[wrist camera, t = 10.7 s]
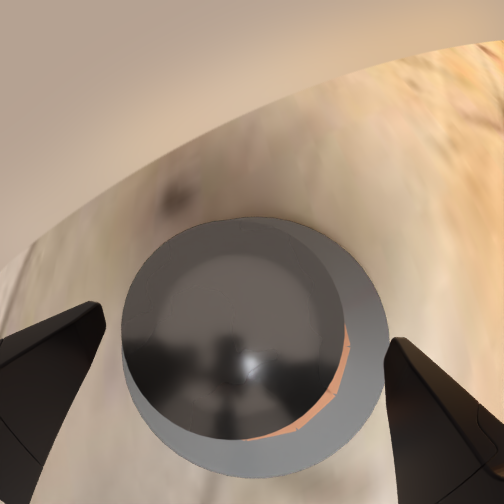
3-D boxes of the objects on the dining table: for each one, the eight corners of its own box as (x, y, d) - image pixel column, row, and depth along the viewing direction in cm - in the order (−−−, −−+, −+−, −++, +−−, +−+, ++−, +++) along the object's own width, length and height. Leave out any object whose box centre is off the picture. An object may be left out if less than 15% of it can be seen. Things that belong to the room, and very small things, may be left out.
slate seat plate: (244, 514, 14) (240, 540, 11) (87, 330, 18) (58, 322, 15) (428, 344, 17) (456, 339, 14) (262, 181, 22) (260, 150, 18)
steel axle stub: (278, 404, 16) (296, 469, 5) (194, 371, 16) (92, 379, 6) (309, 322, 17) (370, 260, 7) (227, 292, 18) (175, 195, 8)
